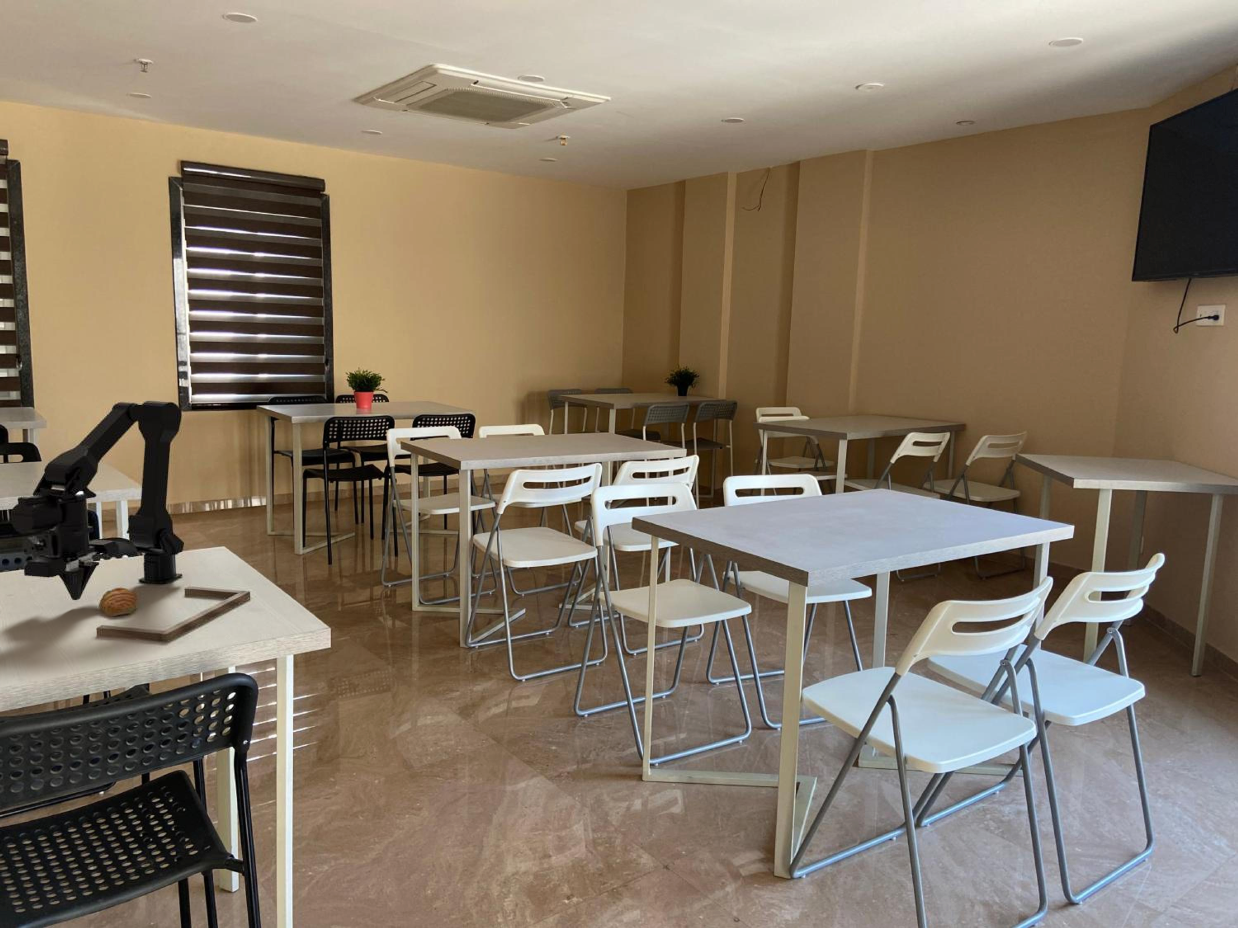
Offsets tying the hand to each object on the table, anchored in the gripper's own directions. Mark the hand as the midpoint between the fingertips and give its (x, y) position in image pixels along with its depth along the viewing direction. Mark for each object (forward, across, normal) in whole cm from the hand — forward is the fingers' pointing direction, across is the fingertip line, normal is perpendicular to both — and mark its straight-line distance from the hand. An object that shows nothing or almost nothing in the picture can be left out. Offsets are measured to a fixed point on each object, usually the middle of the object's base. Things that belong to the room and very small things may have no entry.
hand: (76, 599), depth 179 cm
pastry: (+2, -1, +9) cm, 9 cm away
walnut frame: (+2, 0, +22) cm, 22 cm away
